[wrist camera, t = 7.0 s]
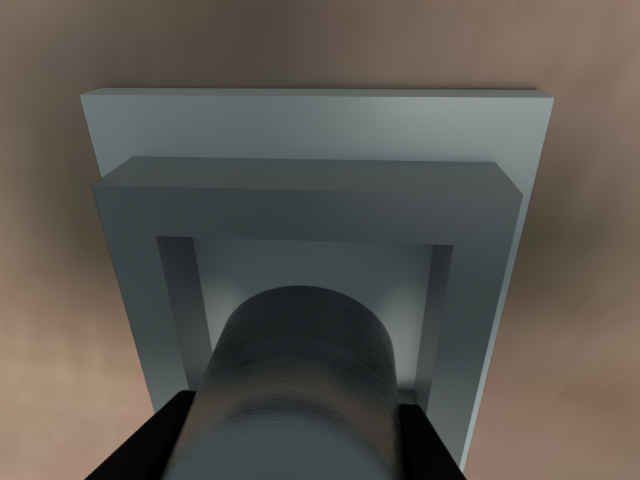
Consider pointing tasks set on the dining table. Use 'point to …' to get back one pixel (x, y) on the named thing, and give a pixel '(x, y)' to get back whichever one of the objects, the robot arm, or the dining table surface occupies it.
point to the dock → (320, 220)
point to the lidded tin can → (295, 395)
